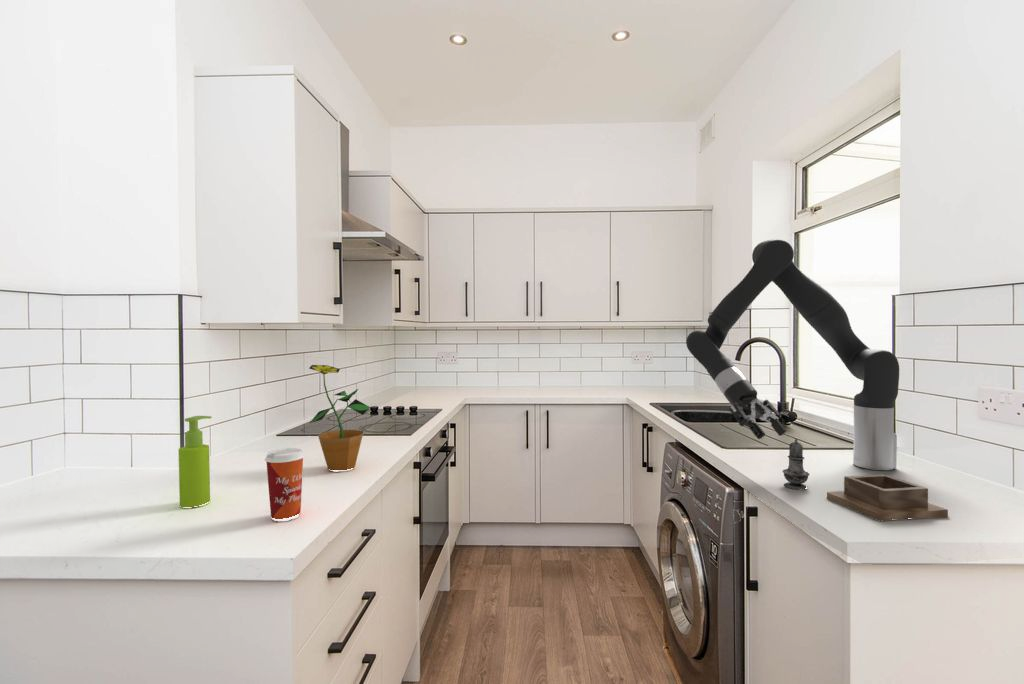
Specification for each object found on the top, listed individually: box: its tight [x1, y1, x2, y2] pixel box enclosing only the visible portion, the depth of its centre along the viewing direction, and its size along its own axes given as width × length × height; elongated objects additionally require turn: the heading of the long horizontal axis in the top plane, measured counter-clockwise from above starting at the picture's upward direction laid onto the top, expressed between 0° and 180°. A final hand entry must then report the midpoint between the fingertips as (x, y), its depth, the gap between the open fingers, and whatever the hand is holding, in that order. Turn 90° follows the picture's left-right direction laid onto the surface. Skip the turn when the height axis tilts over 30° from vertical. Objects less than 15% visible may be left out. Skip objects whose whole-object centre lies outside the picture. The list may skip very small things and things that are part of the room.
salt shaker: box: [782, 438, 810, 490], centre depth 124 cm, size 6×6×12 cm
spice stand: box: [826, 473, 949, 522], centre depth 109 cm, size 16×14×6 cm
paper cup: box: [264, 447, 305, 519], centre depth 106 cm, size 8×8×14 cm
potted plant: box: [308, 364, 371, 470], centre depth 142 cm, size 18×19×30 cm
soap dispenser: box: [178, 415, 212, 507], centre depth 114 cm, size 6×7×20 cm
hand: (773, 435), depth 129 cm, fingers open, 8 cm apart
